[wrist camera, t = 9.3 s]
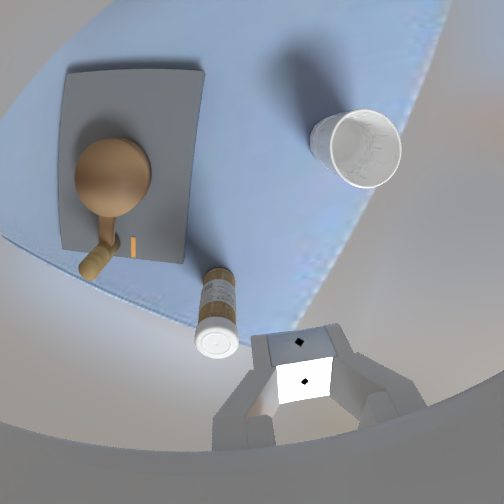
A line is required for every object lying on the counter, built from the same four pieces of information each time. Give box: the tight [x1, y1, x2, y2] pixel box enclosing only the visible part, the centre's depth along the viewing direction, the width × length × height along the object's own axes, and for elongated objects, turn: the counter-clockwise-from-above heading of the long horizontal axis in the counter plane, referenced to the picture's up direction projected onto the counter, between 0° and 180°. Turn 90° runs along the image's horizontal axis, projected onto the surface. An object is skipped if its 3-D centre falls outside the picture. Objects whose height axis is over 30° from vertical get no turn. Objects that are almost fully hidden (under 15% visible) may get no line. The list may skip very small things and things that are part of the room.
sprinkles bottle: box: [195, 268, 239, 358], centre depth 35 cm, size 5×5×14 cm
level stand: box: [58, 69, 205, 264], centre depth 33 cm, size 24×18×2 cm
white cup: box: [310, 109, 401, 188], centre depth 30 cm, size 8×8×10 cm
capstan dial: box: [75, 137, 152, 281], centre depth 30 cm, size 15×9×8 cm, turn 168°
